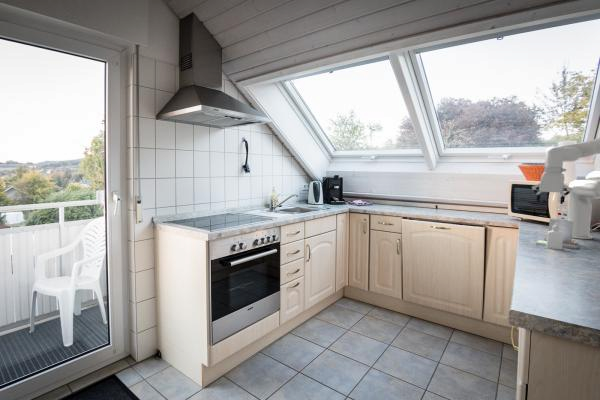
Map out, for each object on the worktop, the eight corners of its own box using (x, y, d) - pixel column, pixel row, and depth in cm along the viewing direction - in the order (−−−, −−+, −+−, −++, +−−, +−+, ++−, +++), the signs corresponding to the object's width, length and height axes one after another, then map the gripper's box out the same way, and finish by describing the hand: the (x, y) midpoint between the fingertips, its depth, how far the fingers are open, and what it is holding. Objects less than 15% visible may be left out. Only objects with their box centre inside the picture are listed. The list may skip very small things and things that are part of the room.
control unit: (546, 239, 172) (547, 217, 171) (575, 243, 164) (577, 220, 163) (543, 241, 167) (545, 219, 166) (574, 245, 159) (576, 222, 158)
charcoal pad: (558, 244, 160) (559, 242, 160) (577, 247, 155) (577, 245, 155) (556, 246, 155) (557, 244, 155) (575, 249, 150) (576, 247, 150)
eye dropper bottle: (549, 246, 156) (551, 221, 155) (563, 249, 151) (565, 223, 150) (544, 247, 154) (546, 222, 153) (558, 250, 149) (560, 224, 148)
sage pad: (539, 242, 166) (539, 240, 166) (556, 244, 161) (556, 242, 161) (536, 244, 161) (536, 242, 161) (554, 246, 156) (554, 244, 156)
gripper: (575, 171, 169) (571, 204, 170) (534, 170, 181) (531, 201, 183) (573, 171, 164) (570, 204, 165) (532, 170, 176) (529, 201, 177)
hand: (550, 202), depth 174 cm, fingers open, 9 cm apart
